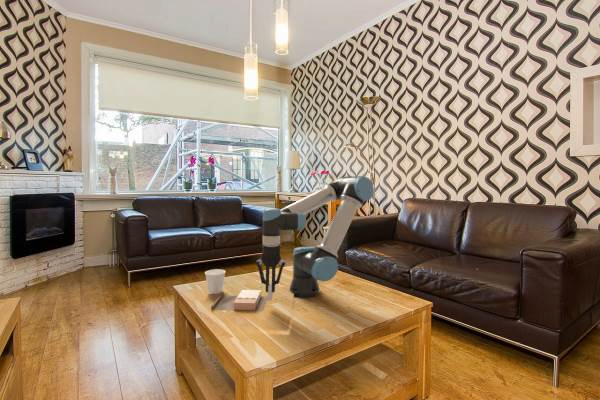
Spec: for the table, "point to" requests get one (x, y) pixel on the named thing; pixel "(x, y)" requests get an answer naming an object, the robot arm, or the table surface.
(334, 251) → the robot arm
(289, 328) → the table surface
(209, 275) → the cup
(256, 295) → the cream flat block
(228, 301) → the board
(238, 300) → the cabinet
